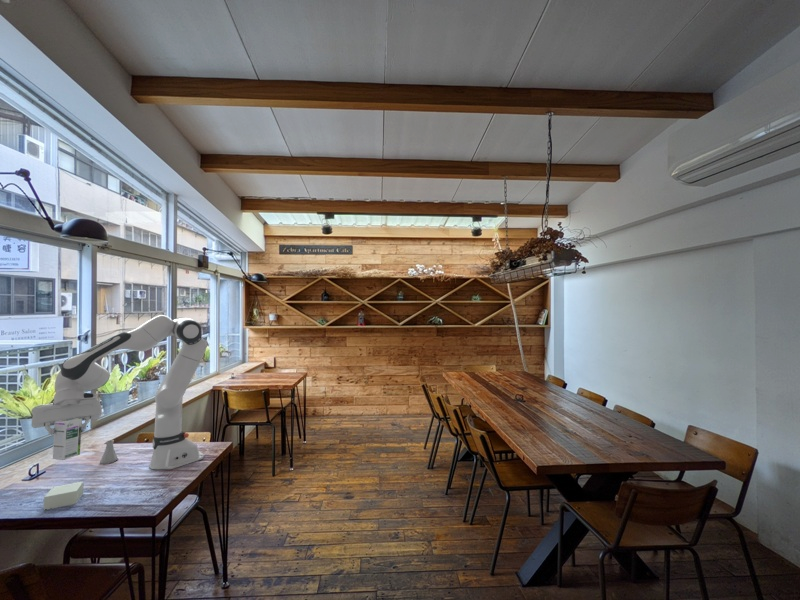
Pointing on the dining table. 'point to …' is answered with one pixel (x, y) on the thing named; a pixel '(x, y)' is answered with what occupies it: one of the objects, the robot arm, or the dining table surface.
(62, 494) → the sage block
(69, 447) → the syrup box
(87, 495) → the dining table surface
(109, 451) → the flask
